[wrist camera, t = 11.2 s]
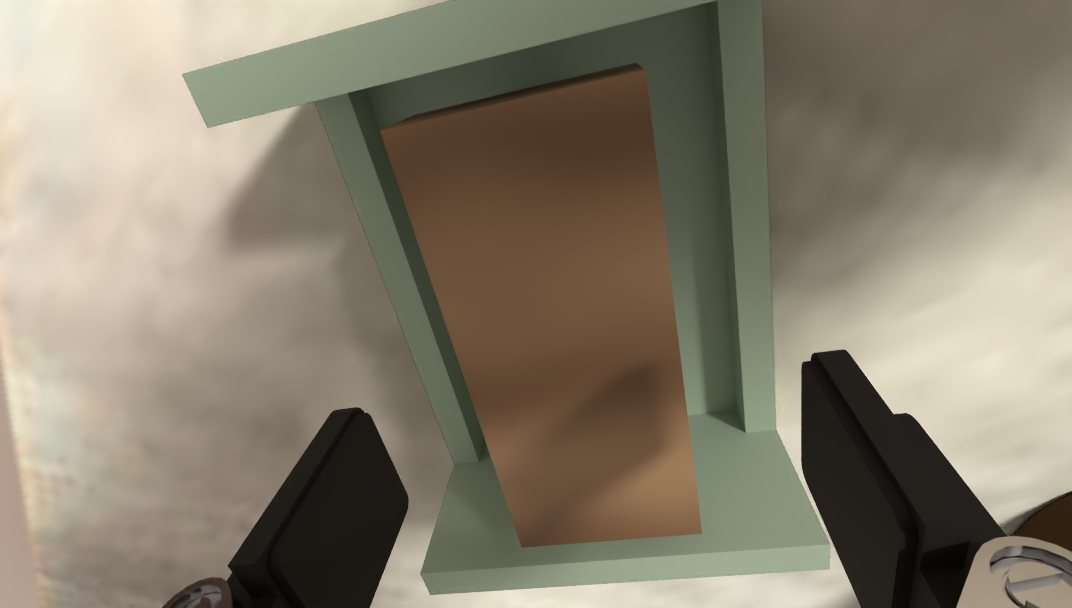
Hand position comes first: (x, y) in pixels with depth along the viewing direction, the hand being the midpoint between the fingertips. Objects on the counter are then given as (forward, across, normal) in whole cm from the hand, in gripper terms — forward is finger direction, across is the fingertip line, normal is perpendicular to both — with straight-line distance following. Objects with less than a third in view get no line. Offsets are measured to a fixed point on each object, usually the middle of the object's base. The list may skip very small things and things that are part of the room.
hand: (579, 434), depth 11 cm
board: (+6, +1, 0) cm, 6 cm away
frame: (+11, +1, +1) cm, 11 cm away
